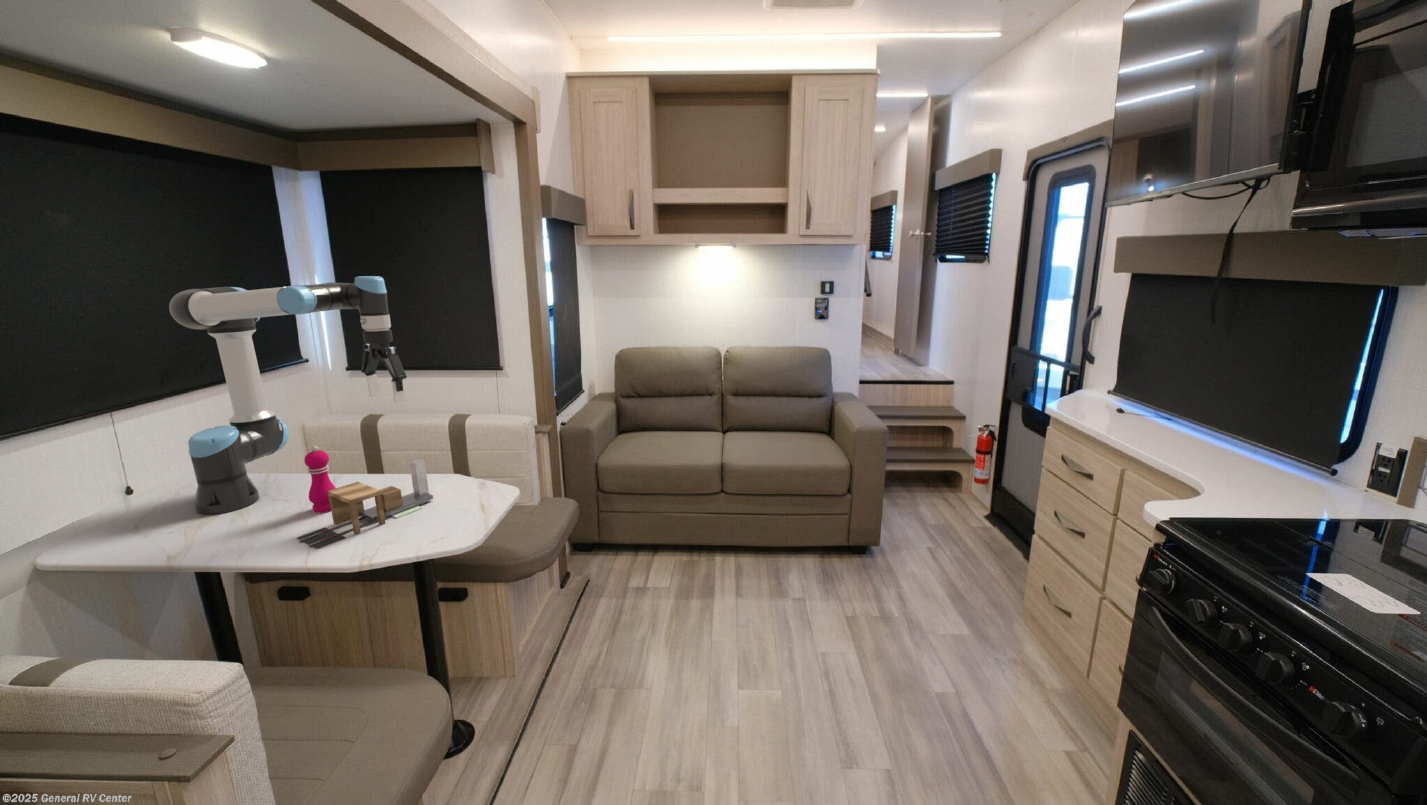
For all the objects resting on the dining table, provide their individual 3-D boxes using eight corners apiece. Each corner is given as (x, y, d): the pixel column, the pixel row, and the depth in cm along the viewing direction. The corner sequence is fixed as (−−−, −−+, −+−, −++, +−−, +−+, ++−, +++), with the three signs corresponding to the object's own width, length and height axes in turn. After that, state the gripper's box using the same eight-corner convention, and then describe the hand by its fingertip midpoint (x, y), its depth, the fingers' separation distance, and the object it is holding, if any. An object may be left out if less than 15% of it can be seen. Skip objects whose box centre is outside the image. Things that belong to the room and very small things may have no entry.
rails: (299, 541, 152) (299, 539, 152) (414, 499, 179) (413, 497, 178) (310, 547, 149) (310, 545, 149) (425, 503, 176) (424, 502, 175)
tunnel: (333, 524, 162) (327, 491, 159) (362, 513, 169) (357, 481, 166) (356, 534, 156) (350, 500, 153) (385, 523, 162) (380, 490, 160)
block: (376, 507, 168) (374, 491, 167) (393, 501, 172) (391, 485, 171) (386, 511, 166) (383, 495, 165) (402, 504, 170) (400, 489, 169)
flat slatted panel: (297, 538, 154) (296, 537, 154) (325, 528, 160) (324, 527, 160) (317, 549, 148) (317, 548, 148) (345, 538, 154) (345, 537, 154)
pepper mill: (325, 515, 168) (314, 451, 163) (305, 512, 169) (293, 449, 164) (345, 504, 174) (335, 443, 169) (325, 502, 176) (314, 441, 171)
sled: (359, 515, 165) (353, 476, 162) (420, 493, 181) (415, 457, 178) (373, 521, 162) (366, 481, 159) (433, 498, 177) (428, 461, 174)
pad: (375, 509, 171) (375, 508, 171) (401, 500, 178) (401, 499, 178) (396, 518, 166) (396, 517, 166) (422, 508, 172) (422, 507, 172)
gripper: (341, 327, 172) (352, 395, 177) (388, 333, 159) (398, 406, 165) (367, 325, 178) (376, 391, 184) (413, 330, 166) (422, 401, 171)
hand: (387, 398), depth 174 cm, fingers open, 13 cm apart
